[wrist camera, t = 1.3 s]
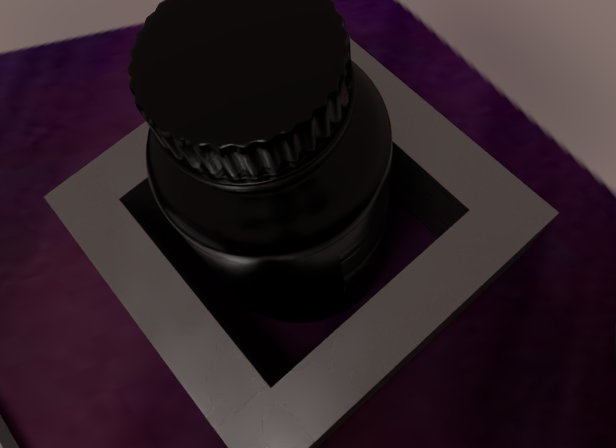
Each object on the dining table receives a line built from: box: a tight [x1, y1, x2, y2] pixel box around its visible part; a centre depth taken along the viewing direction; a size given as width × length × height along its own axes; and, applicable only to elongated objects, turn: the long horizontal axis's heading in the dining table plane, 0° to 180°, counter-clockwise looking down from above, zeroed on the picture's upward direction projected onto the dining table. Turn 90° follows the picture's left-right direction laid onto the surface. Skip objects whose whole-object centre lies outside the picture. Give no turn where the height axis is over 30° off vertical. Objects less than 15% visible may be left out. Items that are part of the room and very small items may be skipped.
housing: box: [44, 39, 559, 448], centre depth 21 cm, size 13×13×4 cm
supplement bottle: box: [128, 0, 393, 323], centre depth 17 cm, size 7×7×12 cm
